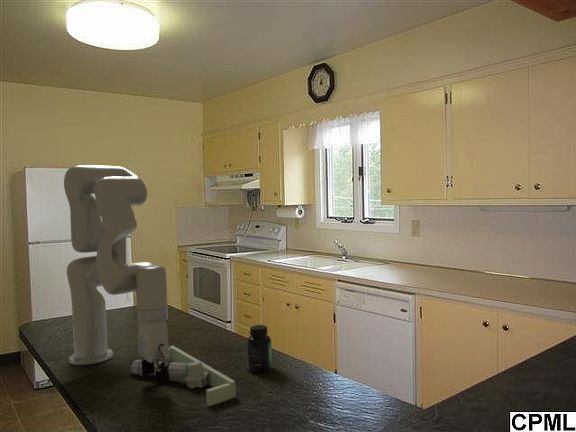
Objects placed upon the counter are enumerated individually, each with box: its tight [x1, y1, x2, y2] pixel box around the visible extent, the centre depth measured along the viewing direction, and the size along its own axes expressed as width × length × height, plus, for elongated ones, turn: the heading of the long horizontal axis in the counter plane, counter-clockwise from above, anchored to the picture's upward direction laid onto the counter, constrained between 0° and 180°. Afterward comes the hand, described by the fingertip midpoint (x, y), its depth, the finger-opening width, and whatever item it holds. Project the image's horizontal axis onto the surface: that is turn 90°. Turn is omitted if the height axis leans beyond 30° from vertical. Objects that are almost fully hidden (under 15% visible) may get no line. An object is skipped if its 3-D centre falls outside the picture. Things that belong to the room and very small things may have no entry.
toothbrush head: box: [128, 359, 208, 389], centre depth 123 cm, size 5×7×25 cm
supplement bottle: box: [246, 324, 273, 374], centre depth 129 cm, size 7×7×12 cm
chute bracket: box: [158, 345, 237, 407], centre depth 123 cm, size 36×7×4 cm, turn 38°
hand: (155, 379), depth 118 cm, fingers open, 9 cm apart
